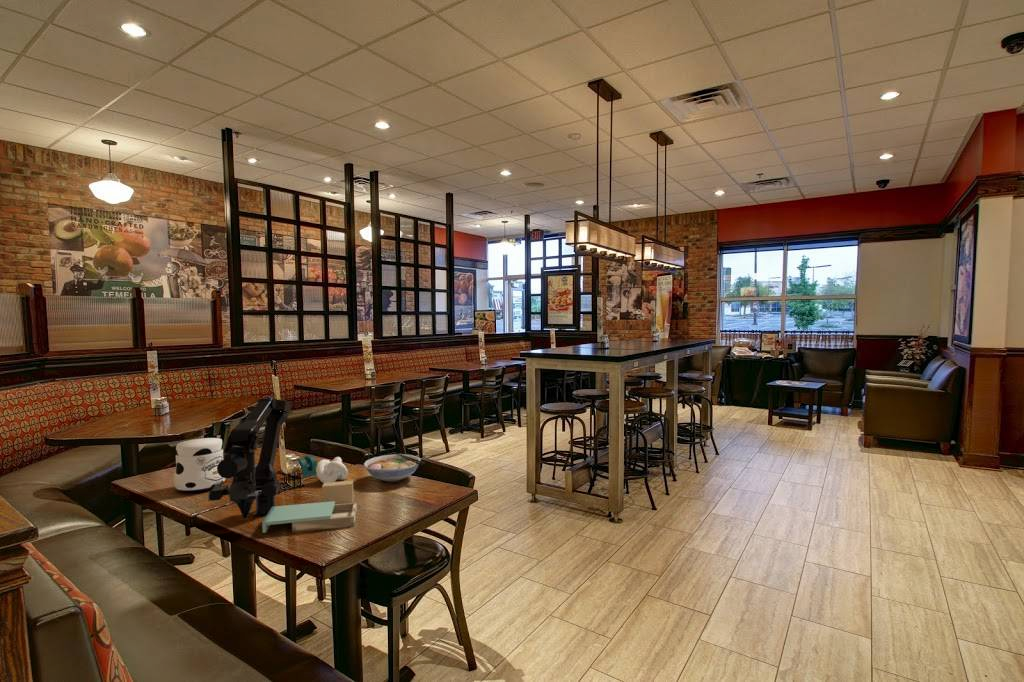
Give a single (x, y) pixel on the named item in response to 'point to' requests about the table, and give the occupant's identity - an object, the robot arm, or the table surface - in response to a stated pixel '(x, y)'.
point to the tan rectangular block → (338, 492)
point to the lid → (298, 513)
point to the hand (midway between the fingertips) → (245, 518)
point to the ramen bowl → (392, 466)
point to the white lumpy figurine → (331, 470)
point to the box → (339, 518)
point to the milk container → (198, 464)
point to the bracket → (307, 466)
